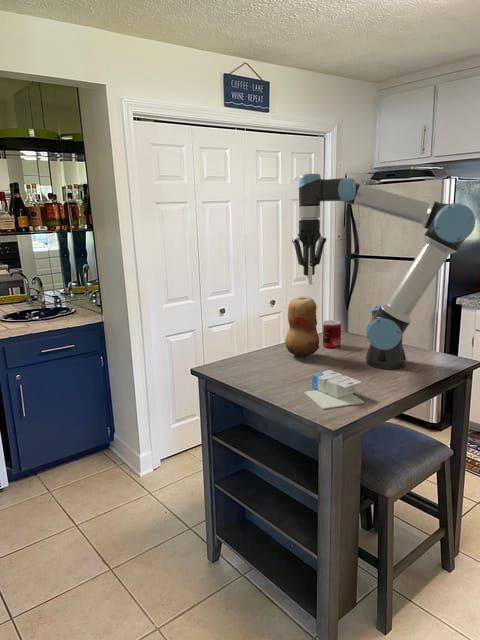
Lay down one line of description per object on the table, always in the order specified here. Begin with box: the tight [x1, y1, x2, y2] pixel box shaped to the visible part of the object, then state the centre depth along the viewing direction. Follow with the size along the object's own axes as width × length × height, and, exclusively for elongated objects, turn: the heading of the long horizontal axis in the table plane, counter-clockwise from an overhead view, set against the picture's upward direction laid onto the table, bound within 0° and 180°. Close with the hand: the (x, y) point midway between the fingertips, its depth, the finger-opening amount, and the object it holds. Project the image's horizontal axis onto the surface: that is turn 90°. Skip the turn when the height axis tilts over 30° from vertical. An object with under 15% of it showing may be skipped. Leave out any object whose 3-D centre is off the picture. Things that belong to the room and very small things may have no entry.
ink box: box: [311, 369, 362, 398], centre depth 153 cm, size 8×5×15 cm
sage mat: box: [303, 389, 365, 410], centre depth 150 cm, size 14×14×1 cm
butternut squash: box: [285, 296, 320, 358], centre depth 190 cm, size 14×13×25 cm
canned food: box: [322, 319, 342, 350], centre depth 204 cm, size 8×8×11 cm
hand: (308, 284), depth 172 cm, fingers closed
